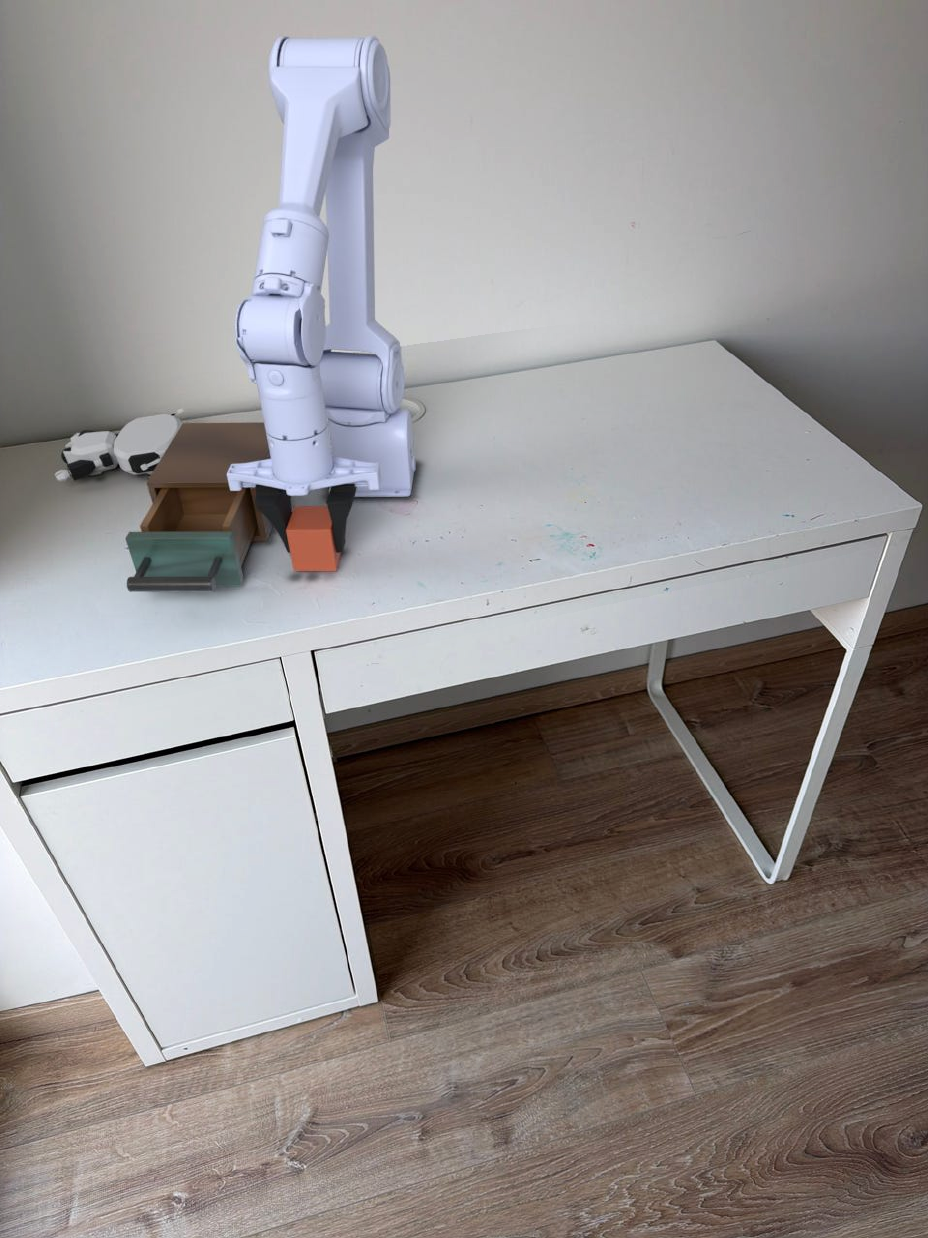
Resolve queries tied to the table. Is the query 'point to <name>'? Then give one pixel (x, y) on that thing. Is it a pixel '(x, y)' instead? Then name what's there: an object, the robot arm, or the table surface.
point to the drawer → (192, 540)
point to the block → (312, 539)
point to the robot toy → (120, 447)
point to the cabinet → (212, 460)
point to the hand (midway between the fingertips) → (316, 547)
